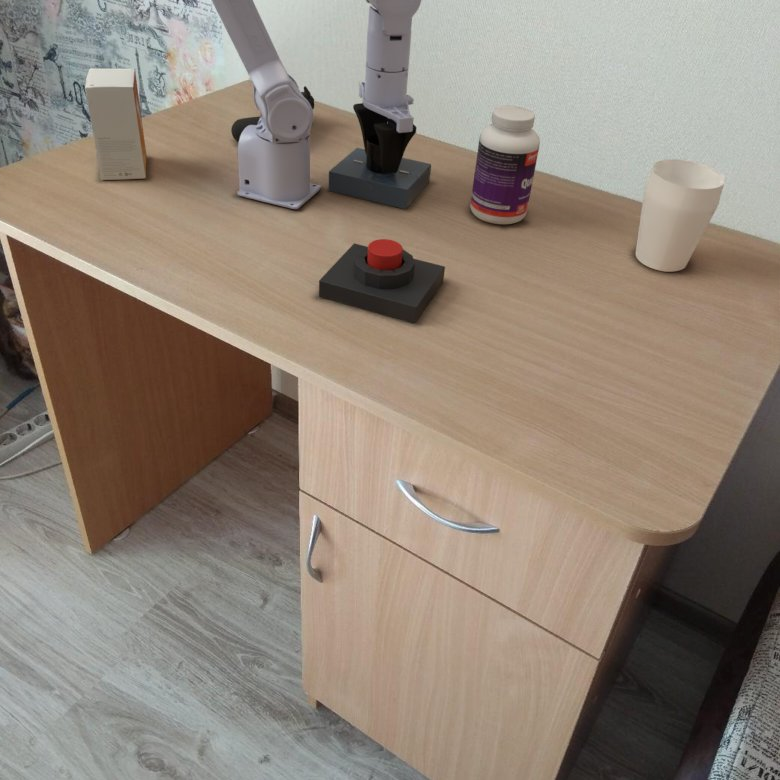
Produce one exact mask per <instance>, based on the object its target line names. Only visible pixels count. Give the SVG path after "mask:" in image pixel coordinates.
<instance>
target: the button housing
mask: <svg viewBox="0 0 780 780" xmlns="http://www.w3.org/2000/svg"><path fill="white" fill-rule="evenodd" d="M367 255H368V245H367V246H366V245H363V244H359V243H355V242H354V243H353V244H352V245H351V246H350V247H349V248H348V249H347V250H346V251H345V252H344V253H343V255H341V256H340V258H339V259H338V260H337V261H336V262H335V263H334V264H333V265H332V267H330V268H329V269H328V270H327V272H326V273H324V275H323V276H322V277H321V278H320V279H319V281H318V297H319V298H323V299H325V300H326V299H327V300H330V301H334V302H337V303H340V304H345V305H347V306H352V307H355V308H359V309H362V310H366V311H369V312H372V313H377V314H380V315H384V316H387V317H388V316H389V317H392V318H395V319H397V320H402V321H404V322H405V321H406V322H409V323H412V324H416V323H417V321H418V320H419V318H420V317H421V316H422V314H423V312H424V311H425V309H426V308H427V307H428V305H429V304H430V302H431V301H432V299H433V297H434V296H435V295H436V293H437V292H438V290H439V289H440V288H441V286H442V285H443V283H444V279H445V273H446V272H445V271H446V266H444V265H440V264H436V263H433V262H428V261H426V260H422V259H417V258H414V256H413V254H411V253H409V252H408V251H407V250H405V249H403V252H402V264H401V266H400V268H397V269H394V270H379V269H375V268H372V267H371V266H369V265H368V263H367Z"/></svg>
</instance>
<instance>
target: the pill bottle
mask: <svg viewBox="0 0 780 780" xmlns="http://www.w3.org/2000/svg"><path fill="white" fill-rule="evenodd" d="M535 118H536V115H535V112H533V111H532V110H530V109H528V108H525V107H523V106H517V105H498V106H496V107H494V108H493V109H492V114H491V123H490V124H488V125H486V126H485V127H484V128H483V129H482V130H481V132H480V134H479V139H478V147H477V154H476V161H475V167H474V176H473V182H472V190H471V196H470V204H469V207H470V210H471V212H472V214H473V215H474V216H475V217H476V218H477V219H479V220H481V221H482V222H485V223H489V224H495V225H513V224H516V223H519V222H521V221H522V220H523V219H524V218H525V217H526V216H527V213H528V209H529V203H530V198H531V192H532V187H533V182H534V177H535V172H536V166H537V161H538V156H539V150H540V144H541V139H540V137H539V135H538V133H537V132H536V130H535V129H533V127H534V125H535Z"/></svg>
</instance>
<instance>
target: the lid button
mask: <svg viewBox="0 0 780 780" xmlns="http://www.w3.org/2000/svg"><path fill="white" fill-rule="evenodd" d="M367 247H368V255H367V263H368V265H369V266H371V267H372V268H375V269H379V270H394V269H397V268H400V266H401V264H402V252H403V250H404V248H403V245H401V243H399V242H398V241H395V240H393V239H387V238H380V239H374V240H373V241H371V242H369V244H368V245H367Z"/></svg>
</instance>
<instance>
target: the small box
mask: <svg viewBox="0 0 780 780" xmlns="http://www.w3.org/2000/svg"><path fill="white" fill-rule="evenodd" d="M136 73H137V72H136V68H107V67H105V68H104V67H103V68H97V67H96V68H95V67H93V68H92V67H91V68H89V69H88V71H87V74H86V75H87V76H86V78H85V85H84V91H85V98H86V103H87V108H88V115H89V120H90V124H91V125H90V126H91V130H92V131H91V132H92V137H93V141H94V142H93V143H94V147H95V153H96V159H97V165H98V171H99V178H100V180H101V181H109V180H110V181H111V180H112V181H113V180H114V181H116V180H117V181H118V180H139V179H140V180H141V179H147V148H146V141H145V135H144V128H143V120H142V119H143V118H142V111H141V105H140V97H139V89H138V81H137V74H136Z"/></svg>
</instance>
